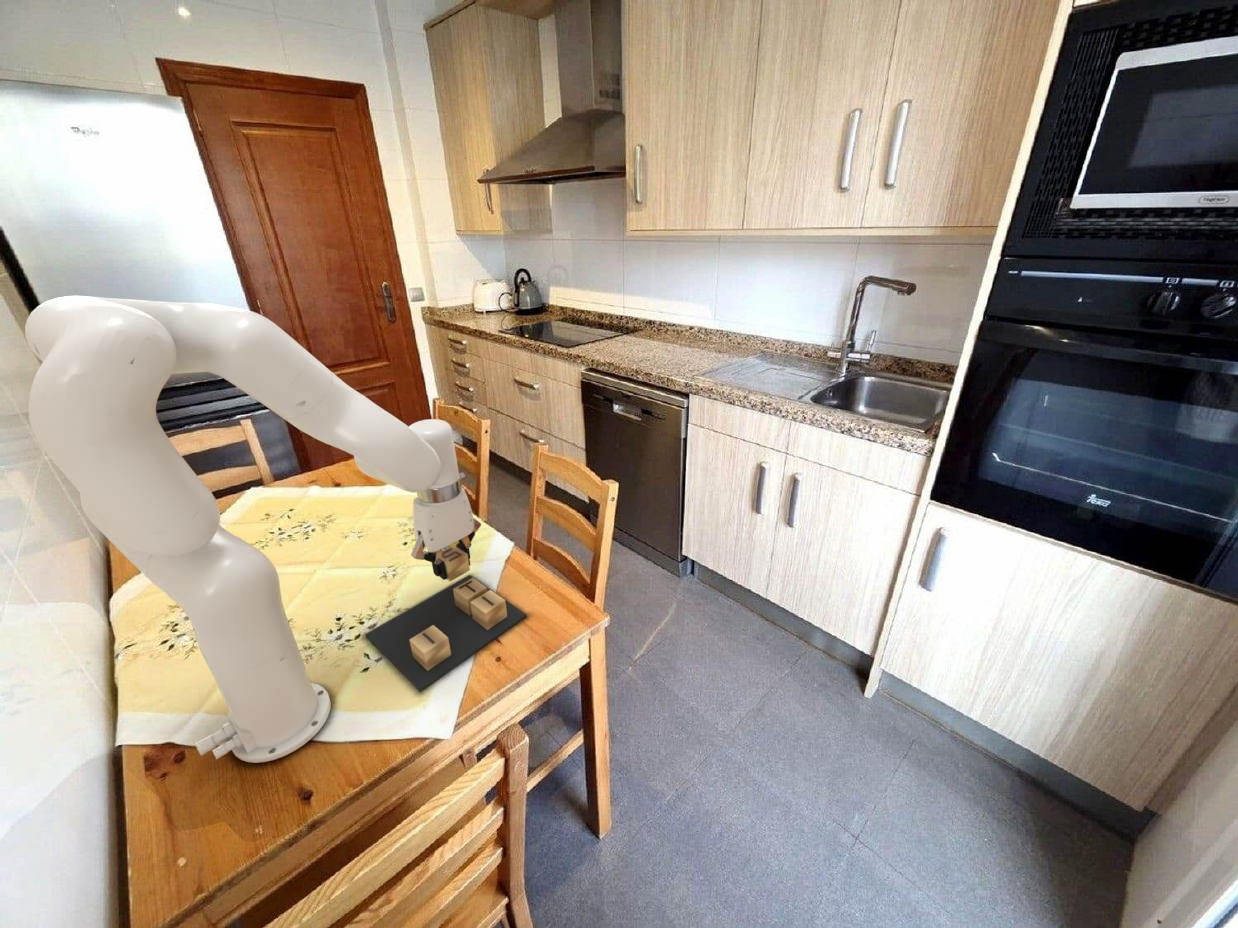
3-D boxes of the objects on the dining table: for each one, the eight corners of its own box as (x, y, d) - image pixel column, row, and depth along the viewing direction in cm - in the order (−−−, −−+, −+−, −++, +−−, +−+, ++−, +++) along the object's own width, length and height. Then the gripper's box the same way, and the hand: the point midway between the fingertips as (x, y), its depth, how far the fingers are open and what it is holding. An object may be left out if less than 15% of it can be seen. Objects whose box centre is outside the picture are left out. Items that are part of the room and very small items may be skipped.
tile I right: (487, 630, 91) (485, 612, 89) (472, 618, 93) (470, 601, 92) (507, 616, 94) (505, 599, 92) (492, 605, 96) (490, 589, 95)
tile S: (450, 581, 95) (447, 564, 93) (436, 572, 98) (433, 554, 96) (470, 570, 98) (467, 553, 96) (456, 561, 101) (454, 544, 99)
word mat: (420, 691, 80) (419, 689, 79) (365, 636, 90) (365, 634, 90) (526, 616, 95) (526, 614, 94) (469, 576, 105) (469, 574, 105)
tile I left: (427, 671, 82) (423, 652, 81) (413, 657, 85) (408, 639, 83) (451, 654, 86) (448, 636, 84) (436, 641, 88) (433, 624, 86)
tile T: (469, 616, 94) (466, 599, 92) (455, 605, 96) (452, 588, 95) (489, 603, 97) (487, 586, 95) (475, 593, 100) (472, 576, 98)
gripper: (466, 465, 98) (477, 543, 106) (382, 499, 86) (402, 583, 94) (490, 477, 93) (500, 557, 101) (405, 514, 82) (424, 601, 90)
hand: (453, 569), depth 98 cm, fingers closed on tile S, 4 cm apart
